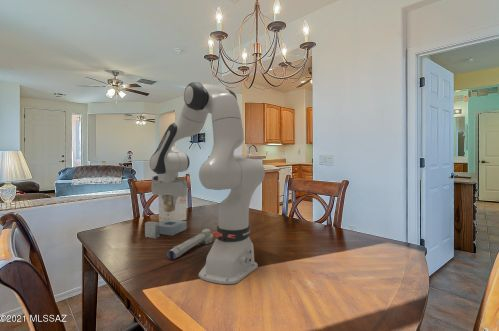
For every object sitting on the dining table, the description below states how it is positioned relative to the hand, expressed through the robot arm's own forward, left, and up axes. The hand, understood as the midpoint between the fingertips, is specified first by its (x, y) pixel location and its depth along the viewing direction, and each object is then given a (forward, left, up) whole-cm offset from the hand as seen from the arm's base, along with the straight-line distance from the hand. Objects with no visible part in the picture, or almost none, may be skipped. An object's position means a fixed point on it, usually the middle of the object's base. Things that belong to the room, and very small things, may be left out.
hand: (169, 204), depth 139 cm
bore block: (0, 0, -14) cm, 14 cm away
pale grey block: (-11, +2, -14) cm, 18 cm away
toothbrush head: (-18, -25, -15) cm, 34 cm away
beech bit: (0, 0, -4) cm, 4 cm away
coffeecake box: (+16, +10, -14) cm, 24 cm away
